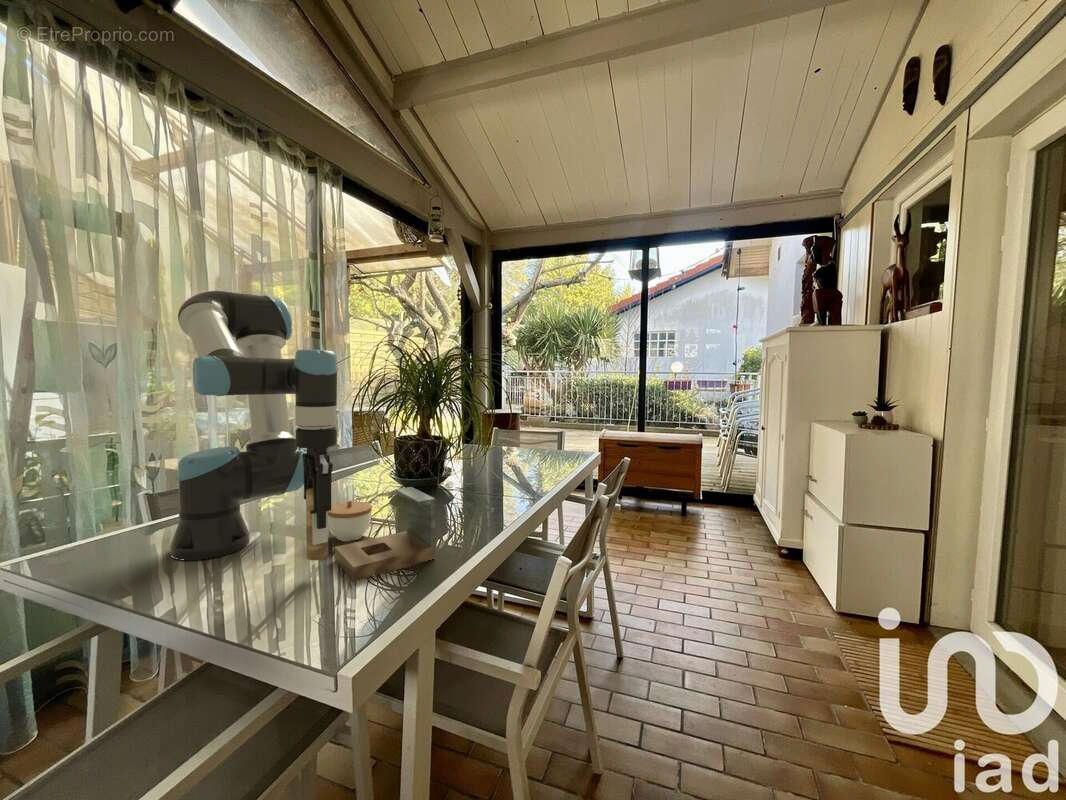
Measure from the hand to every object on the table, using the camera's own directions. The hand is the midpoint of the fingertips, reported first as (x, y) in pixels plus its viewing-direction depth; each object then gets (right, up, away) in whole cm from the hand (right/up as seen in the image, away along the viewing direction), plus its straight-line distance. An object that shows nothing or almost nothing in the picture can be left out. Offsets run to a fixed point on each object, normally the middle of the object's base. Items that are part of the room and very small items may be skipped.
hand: (317, 538), depth 91 cm
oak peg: (0, -4, 0) cm, 4 cm away
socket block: (+11, -8, +9) cm, 16 cm away
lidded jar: (-3, -7, +22) cm, 24 cm away
